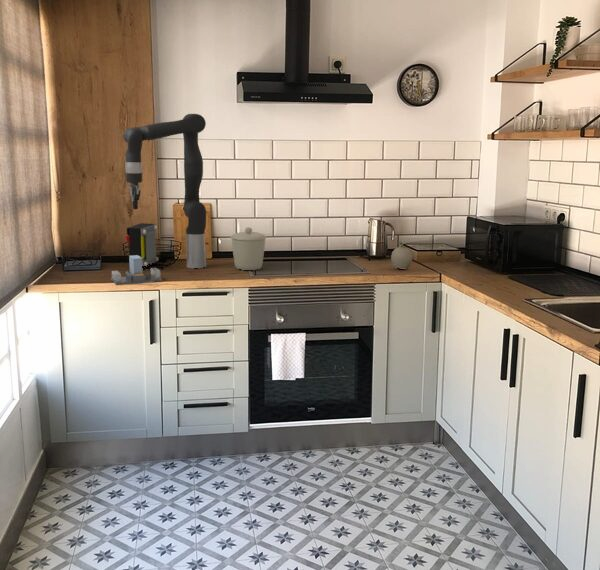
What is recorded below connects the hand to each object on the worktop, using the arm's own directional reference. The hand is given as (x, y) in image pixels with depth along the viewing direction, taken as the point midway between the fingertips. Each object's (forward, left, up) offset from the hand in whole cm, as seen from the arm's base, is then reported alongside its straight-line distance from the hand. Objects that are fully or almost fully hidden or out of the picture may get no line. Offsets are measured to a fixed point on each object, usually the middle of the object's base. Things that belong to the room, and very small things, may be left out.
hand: (135, 209), depth 331 cm
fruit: (-128, +29, -31) cm, 135 cm away
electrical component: (-6, -20, -31) cm, 38 cm away
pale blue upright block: (+3, +16, -30) cm, 34 cm away
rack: (+3, +16, -31) cm, 35 cm away
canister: (-54, +6, -31) cm, 63 cm away
